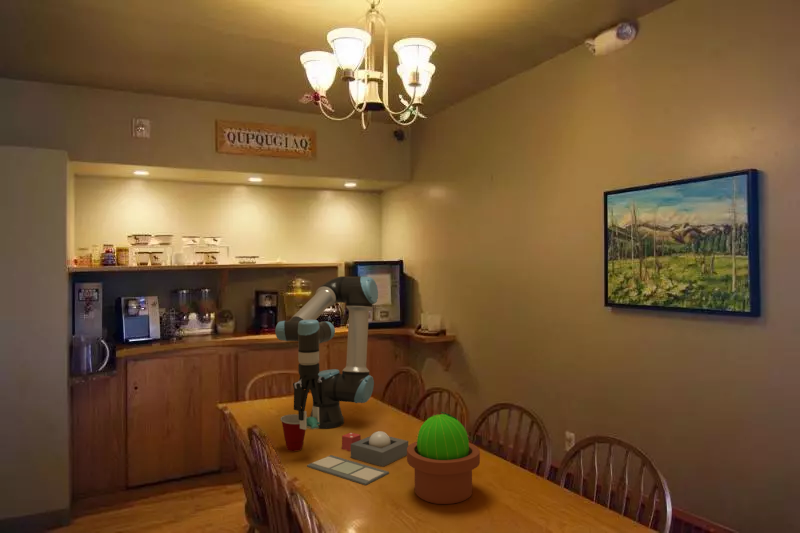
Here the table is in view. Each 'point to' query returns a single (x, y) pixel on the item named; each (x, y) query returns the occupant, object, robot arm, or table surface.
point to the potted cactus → (443, 460)
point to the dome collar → (379, 451)
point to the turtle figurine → (312, 423)
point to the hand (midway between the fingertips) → (309, 426)
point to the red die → (349, 440)
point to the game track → (348, 469)
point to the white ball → (379, 439)
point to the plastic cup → (293, 432)
